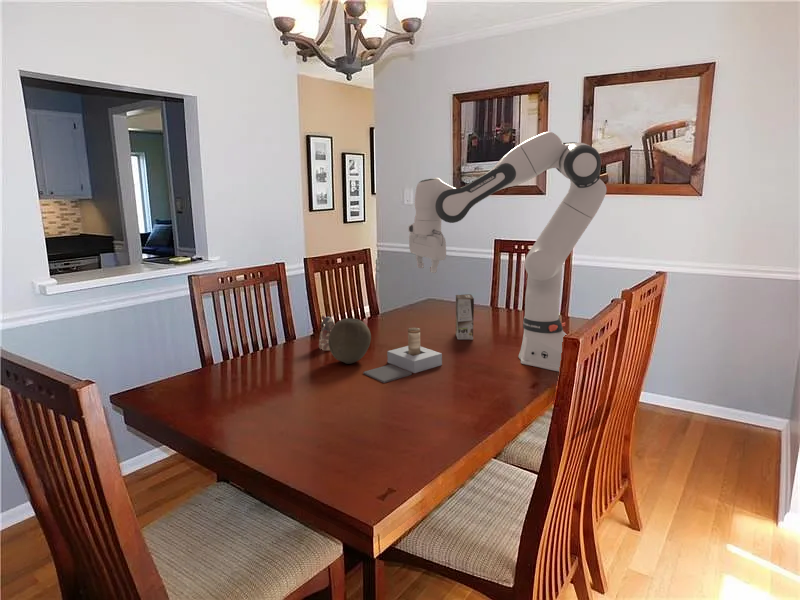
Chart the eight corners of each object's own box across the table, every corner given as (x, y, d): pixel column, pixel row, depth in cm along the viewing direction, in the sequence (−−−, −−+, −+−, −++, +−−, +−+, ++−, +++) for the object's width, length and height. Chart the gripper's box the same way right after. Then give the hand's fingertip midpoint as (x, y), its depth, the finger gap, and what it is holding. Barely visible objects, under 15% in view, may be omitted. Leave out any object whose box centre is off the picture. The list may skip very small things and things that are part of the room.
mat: (411, 374, 169) (411, 372, 169) (384, 383, 163) (384, 381, 163) (390, 366, 178) (390, 364, 178) (363, 373, 171) (363, 371, 171)
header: (441, 364, 178) (441, 353, 177) (414, 373, 171) (414, 361, 170) (414, 355, 189) (414, 344, 188) (387, 362, 181) (387, 351, 181)
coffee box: (473, 339, 206) (474, 298, 203) (457, 339, 207) (457, 298, 203) (471, 333, 215) (471, 293, 212) (455, 333, 215) (455, 294, 212)
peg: (423, 363, 179) (422, 329, 177) (413, 366, 177) (413, 331, 174) (415, 360, 183) (414, 326, 180) (405, 363, 180) (405, 329, 178)
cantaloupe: (365, 369, 175) (363, 325, 171) (324, 367, 177) (321, 323, 174) (375, 356, 188) (374, 314, 185) (337, 354, 191) (335, 313, 188)
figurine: (328, 351, 194) (327, 319, 192) (315, 348, 198) (313, 317, 196) (342, 346, 200) (341, 315, 197) (328, 343, 204) (327, 313, 201)
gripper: (451, 231, 168) (450, 274, 171) (422, 225, 186) (421, 265, 189) (434, 231, 166) (432, 275, 169) (406, 226, 184) (405, 266, 187)
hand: (426, 270), depth 179 cm, fingers open, 8 cm apart
